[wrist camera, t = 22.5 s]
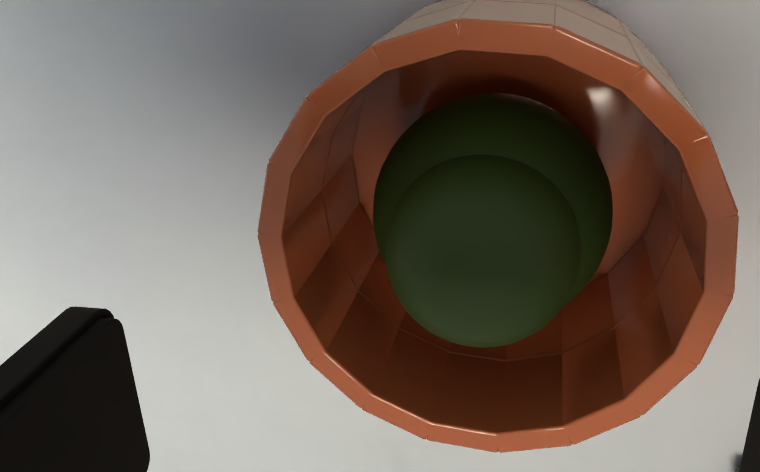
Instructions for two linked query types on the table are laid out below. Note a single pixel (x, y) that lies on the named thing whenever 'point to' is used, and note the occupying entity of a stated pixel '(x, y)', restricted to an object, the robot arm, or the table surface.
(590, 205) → the avocado
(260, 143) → the table surface
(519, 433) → the pot
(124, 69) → the table surface
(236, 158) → the table surface
